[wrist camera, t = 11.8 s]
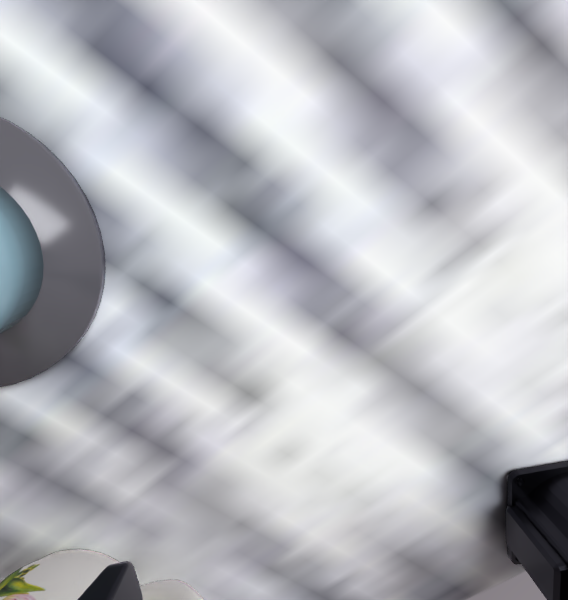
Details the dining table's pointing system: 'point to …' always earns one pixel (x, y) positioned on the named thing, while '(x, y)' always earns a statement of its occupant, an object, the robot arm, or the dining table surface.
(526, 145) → the dining table surface
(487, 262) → the dining table surface
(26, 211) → the tiered round stand
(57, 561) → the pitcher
